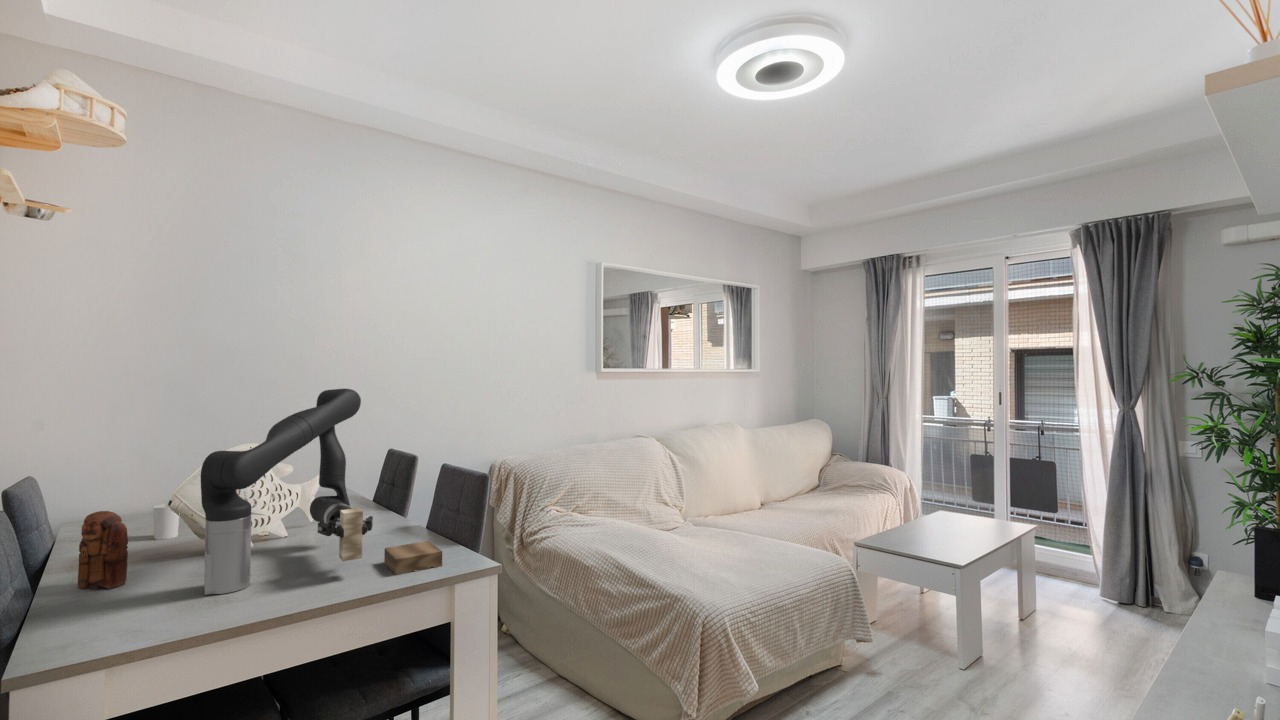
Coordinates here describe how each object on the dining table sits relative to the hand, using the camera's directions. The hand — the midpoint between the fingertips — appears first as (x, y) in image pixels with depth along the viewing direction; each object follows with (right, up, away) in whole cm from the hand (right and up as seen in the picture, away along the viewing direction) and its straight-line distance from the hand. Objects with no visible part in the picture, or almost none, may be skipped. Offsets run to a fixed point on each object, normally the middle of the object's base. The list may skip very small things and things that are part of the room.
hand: (353, 532), depth 151 cm
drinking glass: (-76, -12, +36) cm, 85 cm away
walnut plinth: (+11, -12, +12) cm, 20 cm away
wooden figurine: (-60, -12, -5) cm, 61 cm away
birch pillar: (-2, -7, +2) cm, 8 cm away
